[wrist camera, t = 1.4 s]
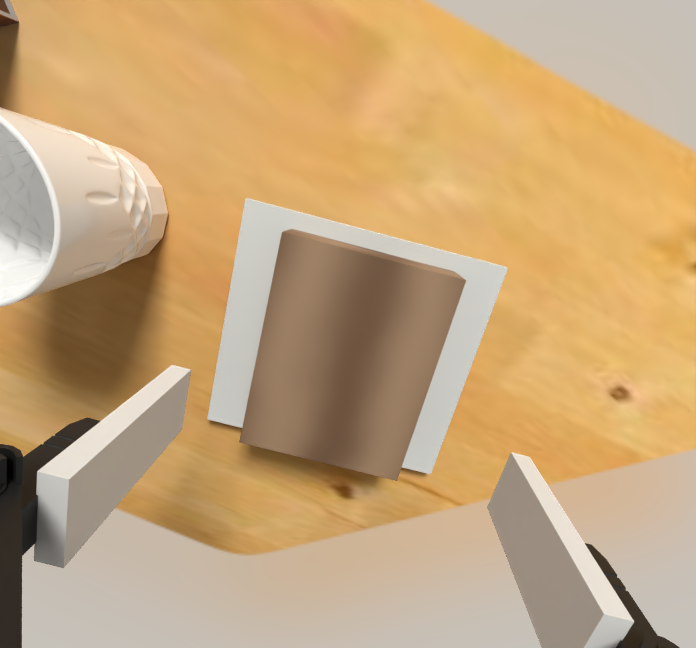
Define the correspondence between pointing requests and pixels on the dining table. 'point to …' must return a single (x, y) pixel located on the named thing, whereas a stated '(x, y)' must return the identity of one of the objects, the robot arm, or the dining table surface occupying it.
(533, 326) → the dining table surface
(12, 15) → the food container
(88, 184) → the white cup
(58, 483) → the robot arm
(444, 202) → the dining table surface
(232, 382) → the rubber mat
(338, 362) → the walnut board
